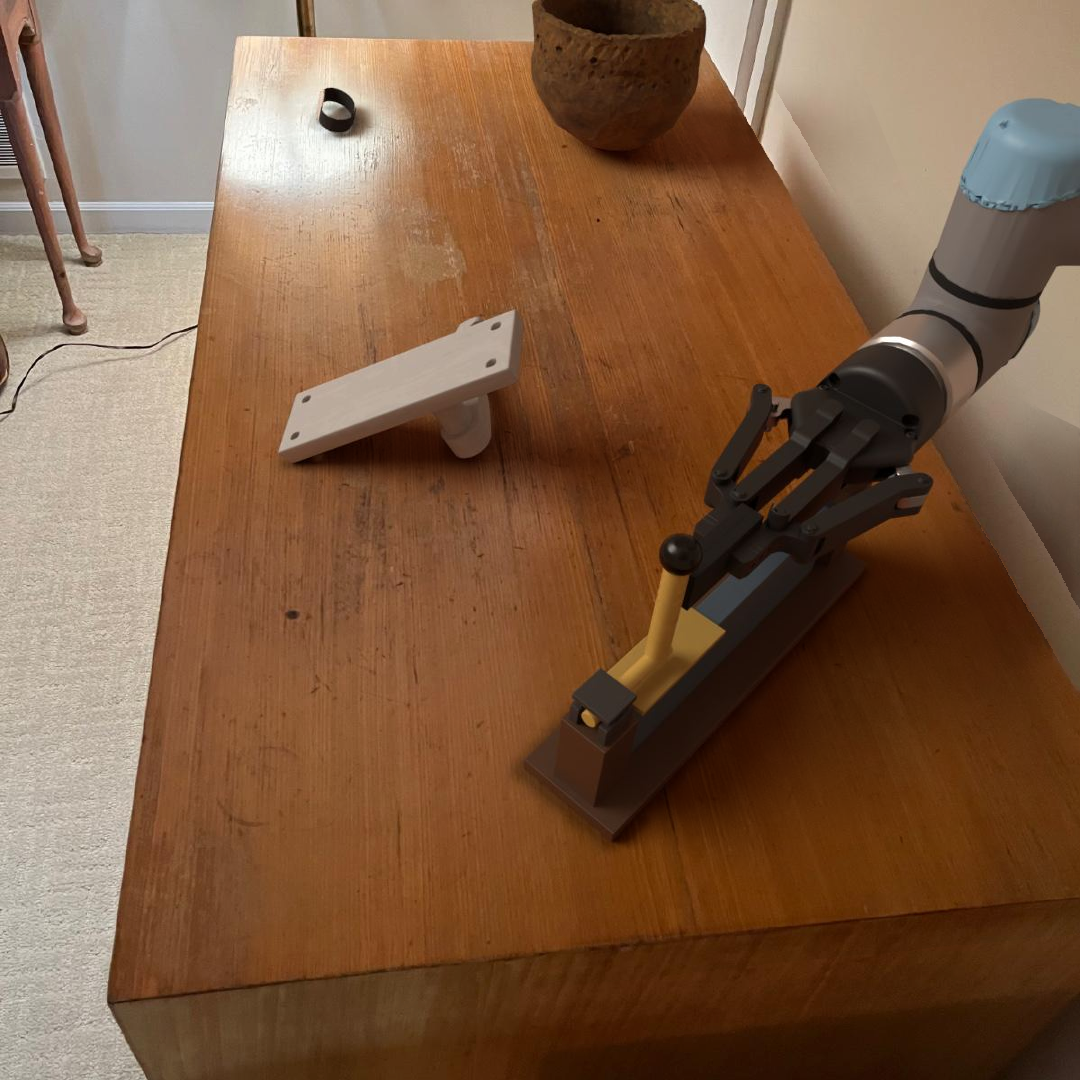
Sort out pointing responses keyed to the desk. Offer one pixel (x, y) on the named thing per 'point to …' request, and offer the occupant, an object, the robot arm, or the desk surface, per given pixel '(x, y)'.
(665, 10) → the bowl
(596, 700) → the sliding lever mechanism
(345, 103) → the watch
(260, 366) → the desk surface
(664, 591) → the bolt
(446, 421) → the handle
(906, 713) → the desk surface
